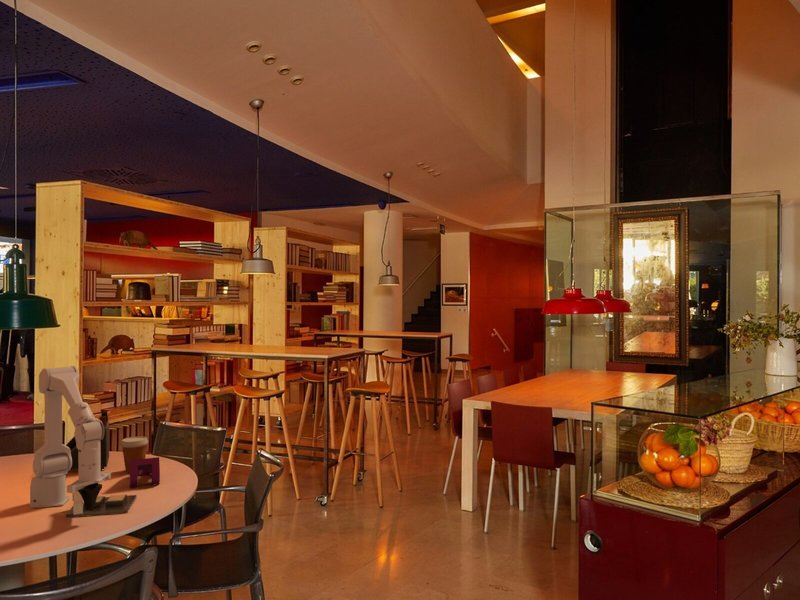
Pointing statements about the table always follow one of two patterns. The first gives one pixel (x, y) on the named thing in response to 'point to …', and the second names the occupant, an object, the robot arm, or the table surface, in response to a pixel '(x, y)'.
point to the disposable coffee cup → (133, 449)
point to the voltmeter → (103, 445)
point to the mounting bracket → (144, 470)
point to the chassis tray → (106, 509)
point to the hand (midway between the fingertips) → (89, 510)
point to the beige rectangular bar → (77, 503)
